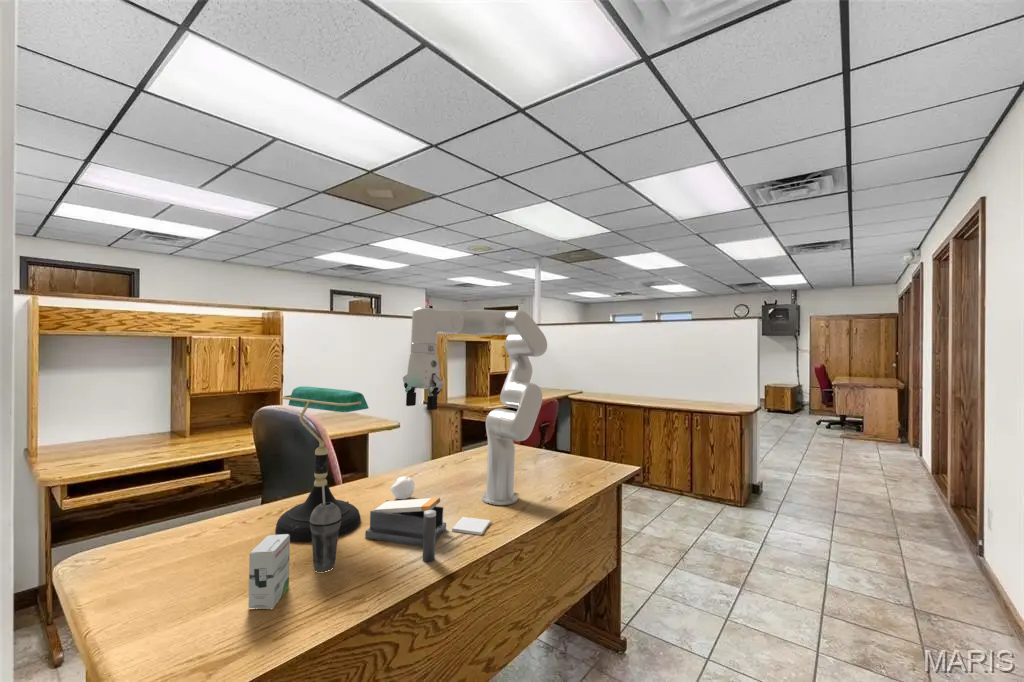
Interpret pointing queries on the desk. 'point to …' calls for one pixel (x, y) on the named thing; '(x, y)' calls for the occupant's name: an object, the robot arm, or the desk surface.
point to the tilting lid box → (402, 526)
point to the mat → (471, 525)
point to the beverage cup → (325, 534)
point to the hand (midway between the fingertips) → (421, 407)
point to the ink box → (269, 571)
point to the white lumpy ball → (403, 488)
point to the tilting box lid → (408, 505)
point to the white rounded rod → (429, 536)
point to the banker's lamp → (320, 463)
